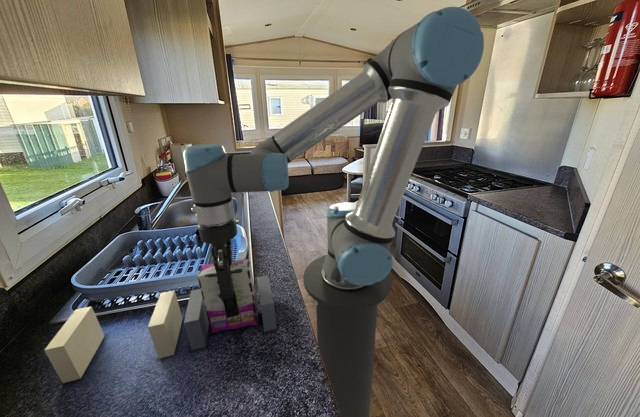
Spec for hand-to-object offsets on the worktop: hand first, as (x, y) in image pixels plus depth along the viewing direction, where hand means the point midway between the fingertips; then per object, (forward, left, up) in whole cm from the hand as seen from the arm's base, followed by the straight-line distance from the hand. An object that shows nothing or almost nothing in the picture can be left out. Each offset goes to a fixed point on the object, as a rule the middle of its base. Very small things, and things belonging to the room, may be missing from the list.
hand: (232, 306), depth 64 cm
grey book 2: (-8, 0, -5) cm, 9 cm away
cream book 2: (+14, 0, -5) cm, 15 cm away
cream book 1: (+31, 0, -5) cm, 32 cm away
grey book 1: (+8, 0, -5) cm, 9 cm away
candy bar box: (0, 0, -5) cm, 5 cm away
